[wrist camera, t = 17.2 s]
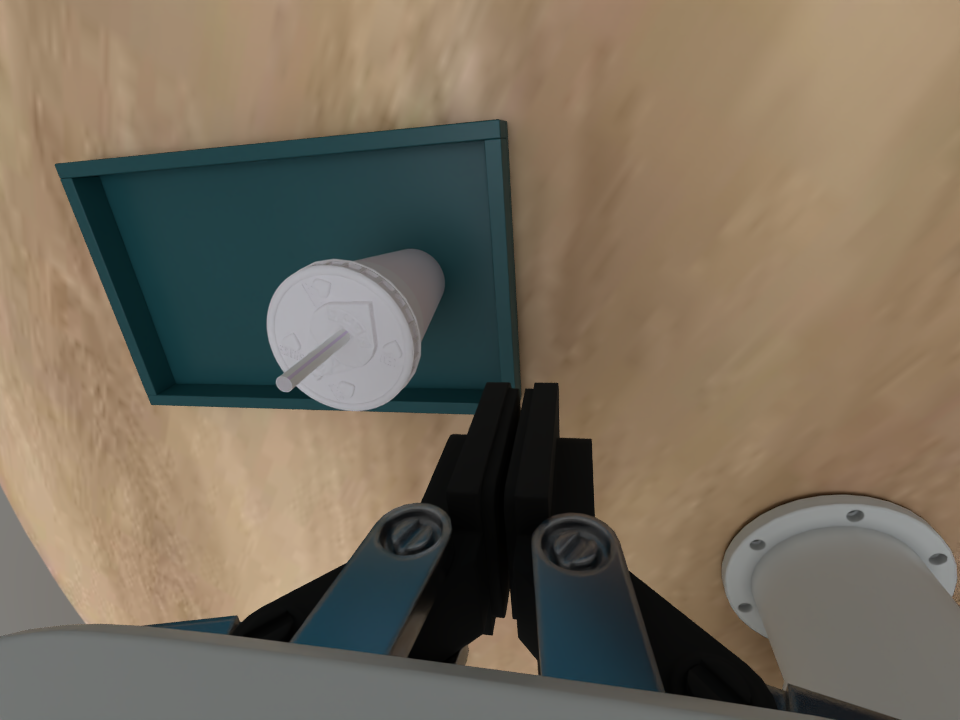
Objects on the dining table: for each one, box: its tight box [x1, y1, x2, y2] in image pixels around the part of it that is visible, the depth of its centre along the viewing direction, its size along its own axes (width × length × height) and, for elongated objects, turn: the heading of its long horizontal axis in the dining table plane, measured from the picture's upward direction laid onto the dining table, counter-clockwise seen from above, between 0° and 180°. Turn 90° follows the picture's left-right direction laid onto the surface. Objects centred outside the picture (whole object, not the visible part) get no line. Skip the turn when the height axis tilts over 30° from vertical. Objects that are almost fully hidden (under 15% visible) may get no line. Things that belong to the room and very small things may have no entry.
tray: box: [55, 119, 521, 415], centre depth 29 cm, size 16×26×2 cm, turn 94°
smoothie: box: [267, 249, 445, 411], centre depth 22 cm, size 6×6×14 cm
